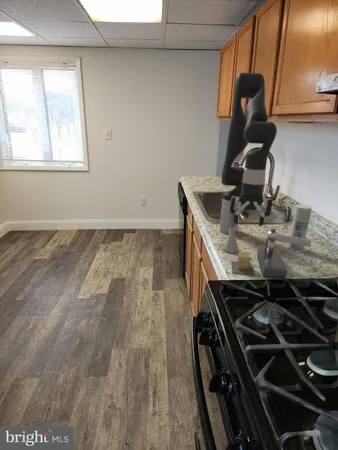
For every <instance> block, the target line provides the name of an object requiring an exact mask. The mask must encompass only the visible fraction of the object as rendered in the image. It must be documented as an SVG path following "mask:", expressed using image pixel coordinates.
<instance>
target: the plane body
mask: <svg viewBox="0 0 338 450" xmlns="http://www.w3.org/2000/svg"><path fill="white" fill-rule="evenodd" d="M275 242H276V241H271V240H268V239H267V238H265V244H264V248H258V249H257V254H256V258H257V262H258V265H259V268H260V273H261V276H262V278H263V279H270V280H271V279H272V280H280V281H281V280H282V279H287V275H288V268H287V267H286V264H285V263H284V262H285V261H284V260H283V258H282V256H281V254H280V252H279V250H278V249H277V250H276V249H274V248H275Z"/></svg>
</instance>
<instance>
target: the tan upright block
mask: <svg viewBox="0 0 338 450" xmlns="http://www.w3.org/2000/svg"><path fill="white" fill-rule="evenodd" d="M237 253H238V255H237V267H238V270H244V271H249V265H250V263H251V254H250V252H249V251H248V252H247V251H238V252H237Z"/></svg>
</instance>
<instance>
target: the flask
mask: <svg viewBox="0 0 338 450" xmlns="http://www.w3.org/2000/svg"><path fill="white" fill-rule="evenodd" d="M235 231H236V229H235V228H229V234H227V239H226V241H225V243H224V244H223V246H222V248H221V250H222V251H223V252H225V253H230V254H235V253H239V246H238V242H237V238H236V233H235Z"/></svg>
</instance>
